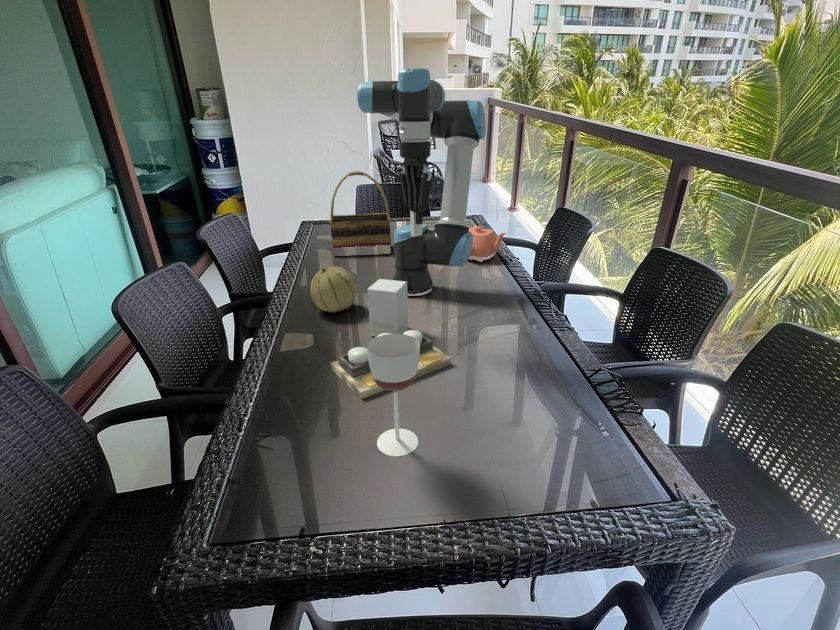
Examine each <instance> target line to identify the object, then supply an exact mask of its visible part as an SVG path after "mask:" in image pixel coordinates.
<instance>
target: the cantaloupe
mask: <svg viewBox="0 0 840 630" xmlns="http://www.w3.org/2000/svg"><path fill="white" fill-rule="evenodd" d="M357 292H358V287H357V282H356V280H355V278H354V276H353V274H351V272H349V271H348V270H346V269H345V268H343V267H340V266H329V267H326V268H325V267H324V268H321V269H320V270H319V271H318V272H317V273H316V274H315V275H314V276H313V278H312V280H311V283H310V296H311V298H312V301H313V303H314V304H315V305H316V306H317V308H319V309H321V310H322V311H324V312H327V311H328V312H327V313H338V312H337V311H340V312H342V311H341V310H343V311H345V310H344V309H346V310H347V309H349V308H350V307H351V306H352V305H353V303H354V301H356V298H357Z"/></svg>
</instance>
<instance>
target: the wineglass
mask: <svg viewBox="0 0 840 630" xmlns="http://www.w3.org/2000/svg"><path fill="white" fill-rule="evenodd" d="M366 347H367V354H368V360H369V366H370V370H371V373H372V376H373V379H374V381H375V383H376V384H377V385H378V386H379V387H381V388H382V389H385V390H384V391H389V392H393V414H394V418H393V419H394V428H391V429H388V430H385V431H384V432H382V433H381V434H380V435H379V437H378V438H377V441H376V445H377V448H378V450H379V451H380V452H381V453H383V454H385V455H387V456H390V457H401V456H406V455H408V454H410V453H413V451H414V450H416V448H417V447H418V445H419V438H418V436H417V434H415V433H414V432H413V431H411V430H409V429H406V428H400V422H399V421H400V417H399V416H400V415H399V393H398V392H399V391H403V390H406V389H407V388H409V387H411V386H412V385H413V383H414V382H415V381H416V379H417V378H416V375H417V370H418V365H419V356H420V343H419V341H418V340H417V339H416V338H414V337H412V336H409V335H404V334H388V335H382V336H379V337H373V338H372V339H371V340H370V341H368V343H367V344H366Z"/></svg>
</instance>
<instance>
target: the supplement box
mask: <svg viewBox="0 0 840 630" xmlns="http://www.w3.org/2000/svg"><path fill="white" fill-rule="evenodd" d="M366 292H367V303H368V305H367V306H368V314H369V329H370V337H371V336H378V335H379V334H382V333H392V334H403V333H404V332H405V331H408V330H409V328H408V327H410V324H409V301H408V300H409V299H408V298H409V297H408V294H407V282H405V281H395V280H392V279H383V278H379V279H377V280H376V281H375V282H374V283H373V284H372V285H370V286H369V287H368V288H367V289H366Z"/></svg>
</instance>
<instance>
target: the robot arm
mask: <svg viewBox="0 0 840 630" xmlns="http://www.w3.org/2000/svg"><path fill="white" fill-rule="evenodd" d="M356 96H357V97H356V98H357V99H356V101H357V105H358V108H359V109H360V111H361V112H362V113H365V114H380V115H383V116H385V117H387V118H390V119H391V120H395V121H397V122H398V123H399V125H398V131H399V132H398V133H399V139H400V140H401V141H400V142H399V157H400V158H402V159H403V163H402V164H403V166H402V167H399V168H397V173H398V175H399V179H400V185H401V191H402V192H401V193H402V197H403V198H402V200H403V205H404V207H407V208H408V211H409V221H410V224H404V225H401V226H399V227H397V228H396V229H395V230H394V232H393V251H394V252H393V256H394V272H393V274H392V279H391V280H395V281H405V282H407V293H409V294H417V293H423V292H425V291H427V290H429V289H431V288H432V286H433V287H434V282H433V280H432V277H431V274H430V271H429V267H428V266H429V265H435V266H437V265H438V266H444V267H446V266H447V267H451V268H452V267H458V268H459V267H460V268H461V267H463V266H466V264H467V263H468V261H469V260H468V259H469V257H470V254H471V250H472V245H473V234H472V233H471V232H469V229H470V226H469V224H467V221H466V220H467V210H468V204H469V203H468V201H469V193H470V184H471V183H470V182H471V176H472V175H471V174H472V166H473V158H474V150H475V149H476V148H477V147H479V144H480V140H483V139H485V137H486V126H487V125H486V113H485V108H484V105H483V103H482V102H481V101H479V100H470V99H467V100H446V92H445V89H444V87H443V85H442V84H441V83H440V82H438V81H436V80H435V79H431V73H430V70H429V69H427V68H422V67H421V68H419V67H417V68H415V67H414V68H412V67H411V68H409V67H408V68H402V69H400V70H399V71H398V73H397V80H376V81H375V80H368V81H363V82H361V83H360V84H359V85H358V88H357V91H356ZM431 138H433V139H443V143H444V145H445V146H446V147H447V153H446V161H445V171H444V177H443V178H444V180H443V188H442V189H443V190H442V197H441V205H440V206H441V207H440V218H439V220H437V221H436V222H435V223H434V229H429V227H428V224H426V223H423V222H424V216H423V213H424V211H426V210H428V209H429V205H430V200H431V199H430V198H431V191H432V184H433V180H434V179H435V178H434V177H435V172H434V171H430V170H429V164H428V161H427V159H428V158H430V157H431V142H430V141H429V139H431Z"/></svg>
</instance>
